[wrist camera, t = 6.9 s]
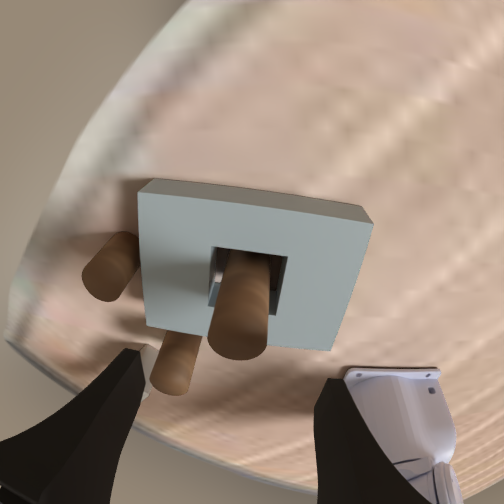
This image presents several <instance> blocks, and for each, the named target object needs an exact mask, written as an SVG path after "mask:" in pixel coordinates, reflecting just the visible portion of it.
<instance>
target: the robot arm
mask: <svg viewBox="0 0 504 504" xmlns="http://www.w3.org/2000/svg"><path fill="white" fill-rule="evenodd" d="M440 375H441V370H440V369H370V368H351V369H349V370H348V371H347V372H346V374H345V376H344V378H343V379H332V378H328V379H327V381H326V383H325V386H324V388H323V390H322V392H321V394H320V396H319V398H318V400H317V402H316V405H315V407H314V440H315V451H316V462H317V473H318V500H317V504H464V503H463V498H462V494H461V490H460V486H459V483H458V480H457V477H456V474H455V472H454V469H453V467H452V466H451V465H450V464H448V462H449V461H450V459H451V458H452V456H453V453H454V450H455V446H456V430H455V425H454V422H453V419H452V416H451V413H450V411H449V408H448V405H447V402H446V400H445V397H444V394H443V392H442V389H441V387H440V384H439V382H438V378H439V376H440ZM145 385H146V381H145V376H144V371H143V365H142V360H141V355H140V351H136V350H132V349H128V348H125V349H123V351H122V352H121V353H120V354H119V355H118V356H117V357H116V358H115V359H114V360H113V361H112V362H111V363H110V364H109V365H108V366H107V368H106V369H105V370H104V371H103V372H102V373H101V374H100V375H99V376H98V377H97V378H96V379H94V380H93V381H92V382H91V383H90V384H89V385H88V386H87V387H86V388H85V389H84V390H83V391H82V392H80V393H79V394H78V395H77V396H76V397H75V398H74V399H73V400H71V401H70V402H69V403H67V404H66V405H65V406H64V407H62V408H61V409H60V410H58V411H57V412H56V413H54V414H53V415H51V416H49V417H48V418H46V419H45V420H43V421H42V422H40V423H39V424H37V425H35V426H33V427H31V428H29V429H28V430H26V431H24V432H22V433H20V434H18V435H16V436H14V437H11V438H8V439H6V440H3V441H1V442H0V485H1V488H0V504H110V497H111V491H112V487H113V482H114V477H115V473H116V469H117V465H118V461H119V458H120V454H121V451H122V448H123V446H124V443H125V441H126V438H127V436H128V433H129V431H130V429H131V426H132V424H133V421H134V419H135V416H136V414H137V411H138V409H139V406H140V403H141V400H142V396H143V392H144V389H145Z"/></svg>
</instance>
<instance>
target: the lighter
mask: <svg viewBox="0 0 504 504" xmlns="http://www.w3.org/2000/svg"><path fill="white" fill-rule="evenodd" d="M158 353H159V351H158V350H156V349H155V348H153V347H152V346H150V345H149V344H146V345H145V346H144V347H143V348H142V349H141V350H140V355H141V360H142V365H143V371H144V376H145V381H146V385H145V389H144V392H143V396H142V400H141V402H142V401H143V400H144V399H146V398H147V397H148V396H149V394H150V391H151V388H152V386H153V385H152V384H151V383H150V380H149V377H150V374H151V372H152V369H153V366H154V364H155V361H156V359H157V356H158Z"/></svg>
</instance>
